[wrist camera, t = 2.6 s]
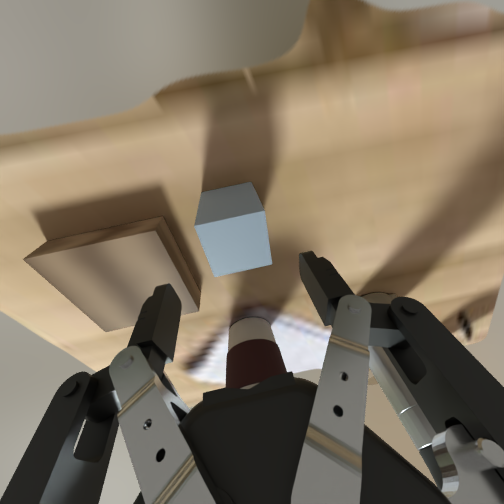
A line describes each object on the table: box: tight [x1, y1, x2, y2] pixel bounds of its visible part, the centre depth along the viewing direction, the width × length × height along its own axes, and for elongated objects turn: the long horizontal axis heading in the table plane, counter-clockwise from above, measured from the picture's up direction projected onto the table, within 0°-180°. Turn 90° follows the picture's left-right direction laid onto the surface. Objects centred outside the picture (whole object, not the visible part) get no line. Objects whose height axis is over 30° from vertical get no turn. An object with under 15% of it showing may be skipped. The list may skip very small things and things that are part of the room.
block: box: [194, 182, 272, 277], centre depth 18 cm, size 5×5×7 cm
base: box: [23, 216, 201, 332], centre depth 22 cm, size 12×12×3 cm
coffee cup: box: [226, 317, 287, 389], centre depth 28 cm, size 10×10×15 cm
